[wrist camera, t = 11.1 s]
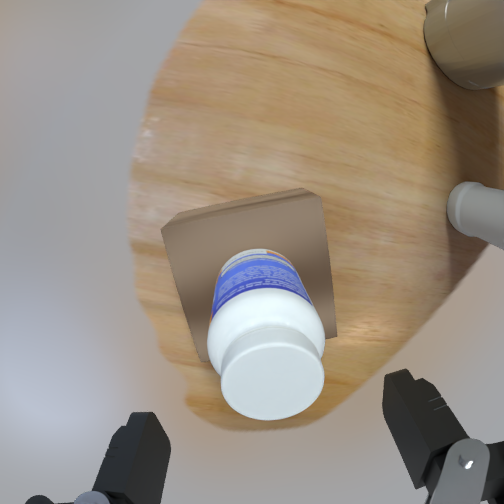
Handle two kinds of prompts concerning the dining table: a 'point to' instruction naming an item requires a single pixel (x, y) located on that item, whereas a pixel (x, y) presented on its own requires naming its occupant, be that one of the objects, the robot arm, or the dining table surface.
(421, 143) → the dining table surface
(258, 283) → the pill bottle
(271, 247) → the walnut block
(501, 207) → the bottle
